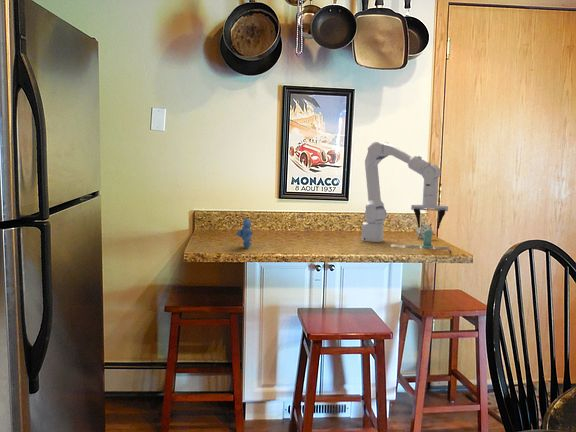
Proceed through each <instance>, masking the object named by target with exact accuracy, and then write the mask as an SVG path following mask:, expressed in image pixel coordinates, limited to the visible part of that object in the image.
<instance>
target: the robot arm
mask: <svg viewBox="0 0 576 432" xmlns="http://www.w3.org/2000/svg"><path fill="white" fill-rule="evenodd" d="M389 156H392V157H394V158H397V159H398V160H399V161H402V162H404V163H406V164H407V166H408V168H409V169H410V170H412V171H414V172H415V173H417V174H418V175H420V176H421V177H422V179H423V188H422V204H411V207H410V210H412V211H413V212H414V215H415V217H416V222H417V228H420V225H421V221H420V220H421V211H431V212H432V211H437V223H436V228H437V229H440V226H441V222H442V220H443V218H444V216H445V215H446V212H448V211H449V206H446V205H438V195H439V193H438V191H439V189H438V188H439V178H440V177H441V175H442V174H441V173H442V171H441V168H440V167H439V166H437V164H436V165H435V164H434V165H433V164H432V163H431V162H429V161H426V160H425V159H422V158H423V157H422V156H420V155H417V156H416V155H415V156H411V155H410V154H408V153H406V152H405V151H403V150H401V149H400V148H398V147H397V146H396V145H394V144H392V143H389V142H387V141H384V142H382V141H381V142H379V141H373V142H371V144H370V145H369V146H368V147H367V153H366V156H365V160H364V169H365V179H366V188H367V203H366V205H365V211H364V219H365V220H366V221H365V222H363V221H362V226H361V235H360V236H361V237H360V239H361V242H372V243H381V242H383V241H384V221H385V219H387V214H388V212H387V210H386V208H385V203H384V202H383V201H382V199H381V198H382V197H381V187H380V177H379V168H378V167H379V166H378V165H379V164H380V163H381V161H382V160H384V159H385V158H387V157H389Z"/></svg>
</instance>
